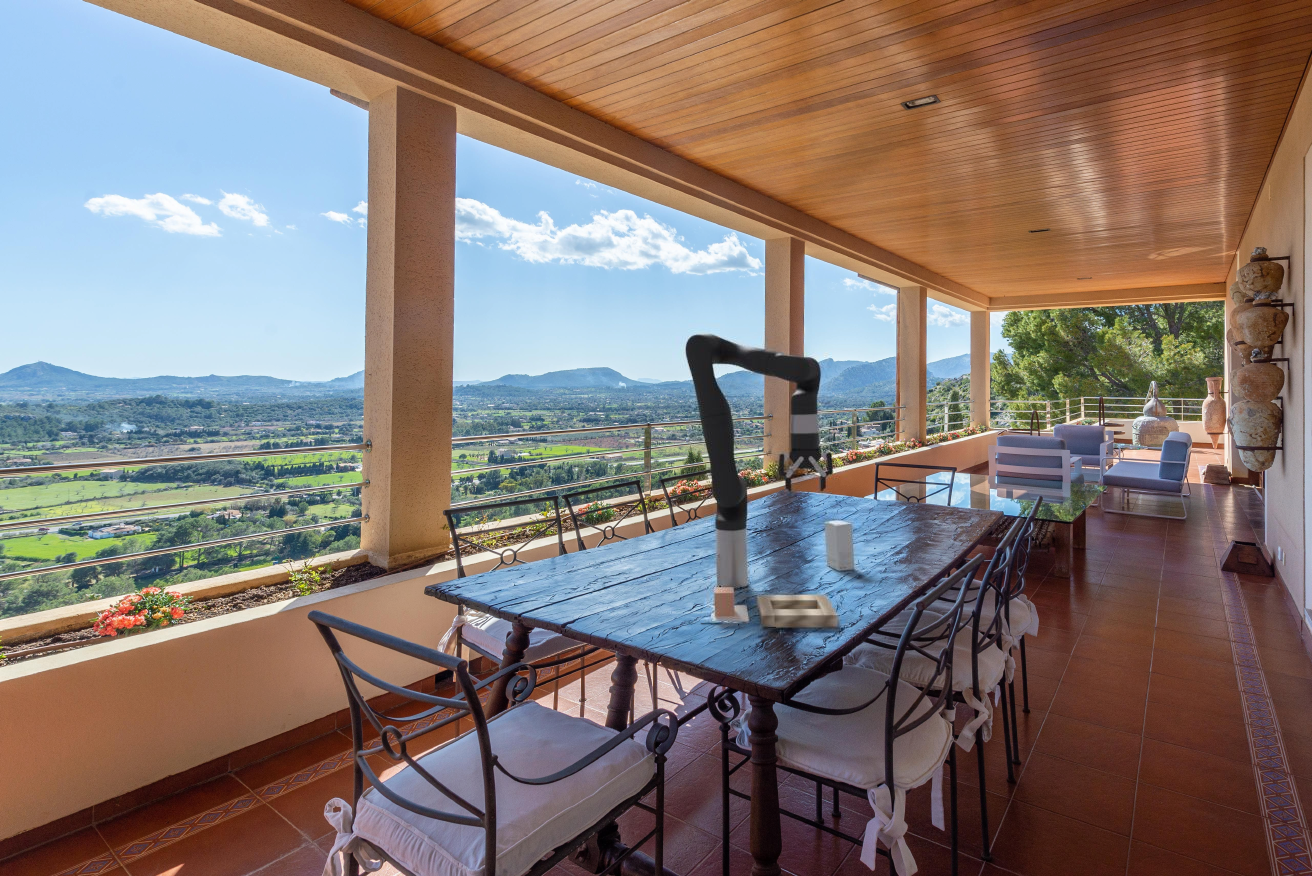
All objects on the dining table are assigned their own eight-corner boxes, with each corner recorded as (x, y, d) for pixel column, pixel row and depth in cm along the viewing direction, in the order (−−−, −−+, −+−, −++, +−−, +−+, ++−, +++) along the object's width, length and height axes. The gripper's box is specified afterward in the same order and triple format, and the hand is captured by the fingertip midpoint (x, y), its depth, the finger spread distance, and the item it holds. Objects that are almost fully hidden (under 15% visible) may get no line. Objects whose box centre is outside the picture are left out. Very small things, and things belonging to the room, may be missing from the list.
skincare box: (854, 570, 204) (854, 523, 203) (837, 571, 203) (836, 525, 202) (841, 563, 212) (840, 519, 211) (824, 565, 211) (824, 520, 210)
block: (714, 616, 164) (714, 593, 163) (714, 609, 169) (714, 587, 168) (734, 616, 163) (734, 592, 163) (734, 609, 168) (733, 587, 168)
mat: (700, 623, 160) (700, 621, 160) (701, 607, 172) (701, 605, 172) (749, 623, 159) (748, 620, 159) (746, 607, 171) (746, 605, 171)
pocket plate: (762, 627, 156) (761, 615, 156) (757, 606, 172) (757, 595, 172) (837, 627, 155) (837, 615, 154) (825, 605, 171) (825, 594, 170)
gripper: (779, 432, 170) (780, 493, 171) (834, 431, 169) (835, 492, 170) (776, 431, 177) (777, 489, 178) (828, 429, 176) (829, 488, 177)
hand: (805, 490), depth 174 cm, fingers open, 8 cm apart
